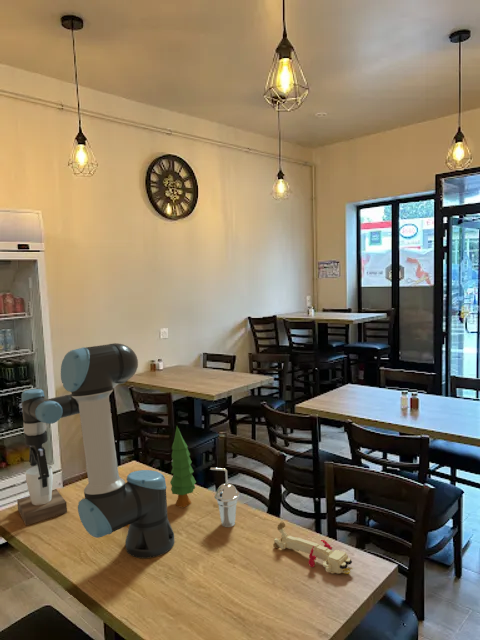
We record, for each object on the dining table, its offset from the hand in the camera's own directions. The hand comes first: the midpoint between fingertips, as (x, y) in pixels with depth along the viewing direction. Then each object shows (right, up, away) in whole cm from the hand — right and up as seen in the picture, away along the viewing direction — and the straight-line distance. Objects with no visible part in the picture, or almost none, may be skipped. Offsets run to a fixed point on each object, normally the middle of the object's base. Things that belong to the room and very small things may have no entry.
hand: (40, 488), depth 173 cm
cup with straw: (+69, -7, -13) cm, 71 cm away
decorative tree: (+52, -7, +3) cm, 53 cm away
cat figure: (+95, -9, -35) cm, 101 cm away
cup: (0, -5, 0) cm, 5 cm away
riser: (0, -9, +1) cm, 9 cm away
